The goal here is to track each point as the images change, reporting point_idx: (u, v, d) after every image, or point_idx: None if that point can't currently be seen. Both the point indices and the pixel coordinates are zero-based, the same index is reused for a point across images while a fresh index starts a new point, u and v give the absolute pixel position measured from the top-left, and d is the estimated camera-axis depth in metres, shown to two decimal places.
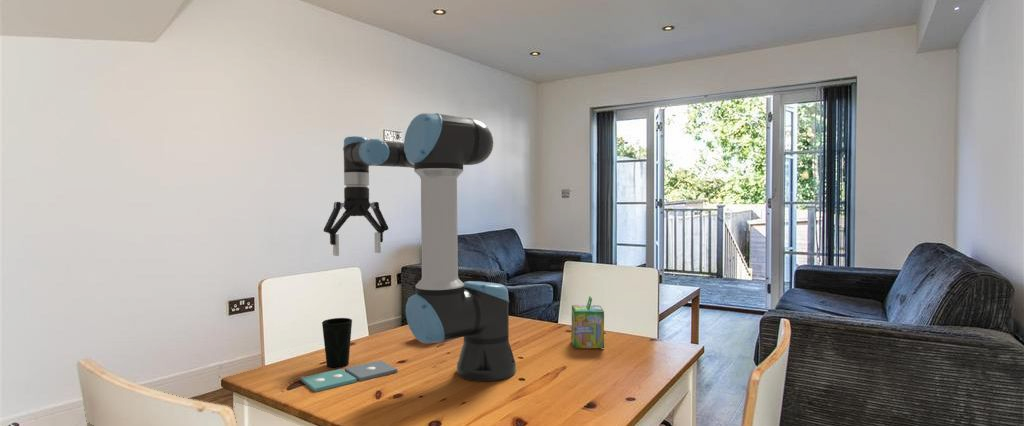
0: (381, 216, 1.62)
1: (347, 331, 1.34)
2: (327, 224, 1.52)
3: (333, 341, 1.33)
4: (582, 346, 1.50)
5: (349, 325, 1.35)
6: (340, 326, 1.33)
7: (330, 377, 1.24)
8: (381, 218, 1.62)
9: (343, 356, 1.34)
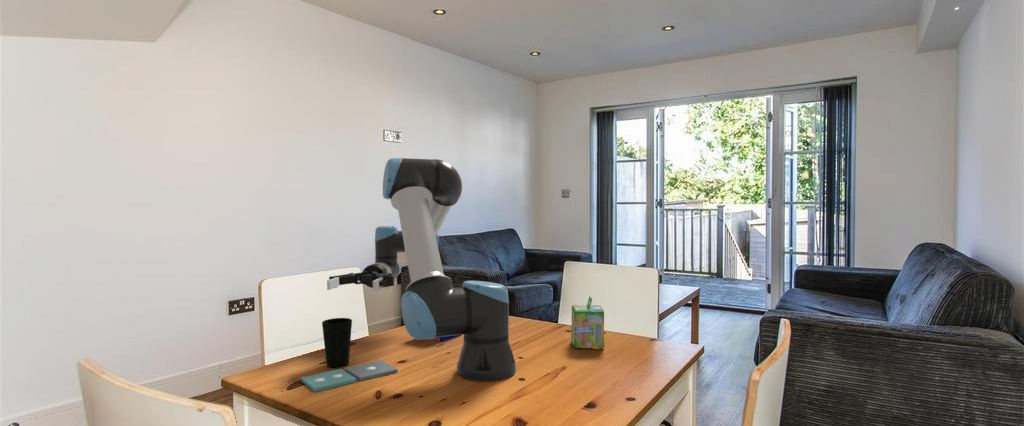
0: (389, 275, 1.56)
1: (347, 331, 1.34)
2: None
3: (333, 341, 1.33)
4: (582, 346, 1.50)
5: (349, 325, 1.35)
6: (340, 326, 1.33)
7: (330, 377, 1.24)
8: (389, 275, 1.56)
9: (343, 356, 1.34)
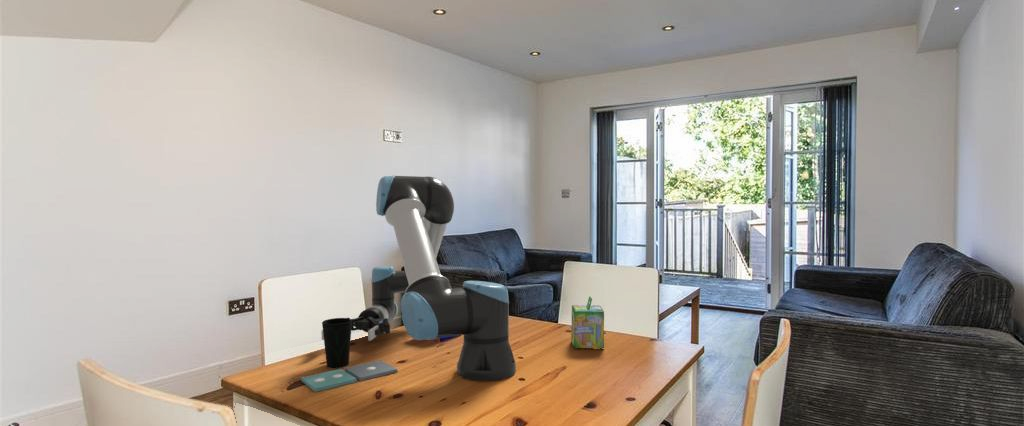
0: (385, 322, 1.53)
1: (347, 331, 1.34)
2: None
3: (333, 341, 1.33)
4: (582, 346, 1.50)
5: (349, 325, 1.35)
6: (340, 326, 1.33)
7: (330, 377, 1.24)
8: (385, 322, 1.53)
9: (343, 356, 1.34)
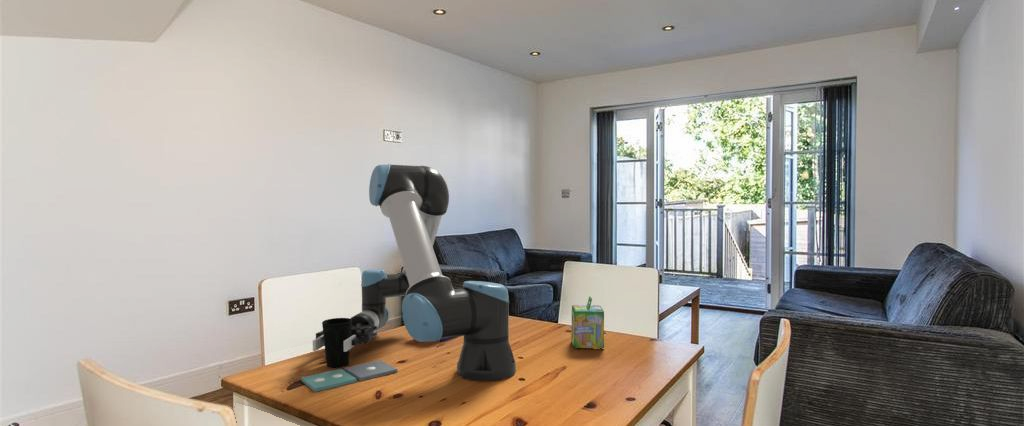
0: (369, 330, 1.43)
1: (347, 331, 1.34)
2: None
3: (333, 341, 1.33)
4: (582, 346, 1.50)
5: (349, 325, 1.35)
6: (340, 326, 1.33)
7: (330, 377, 1.24)
8: (368, 330, 1.42)
9: (343, 356, 1.34)
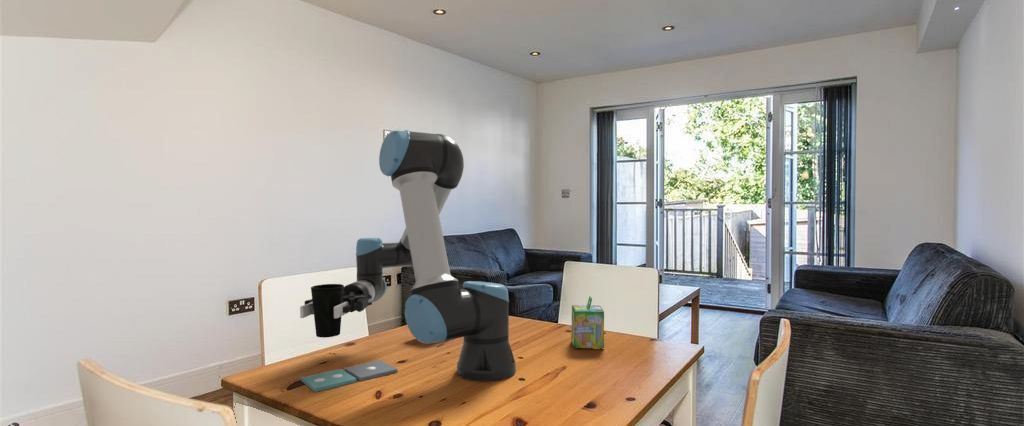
0: (362, 298, 1.31)
1: (338, 297, 1.23)
2: None
3: (323, 307, 1.21)
4: (582, 346, 1.50)
5: (340, 290, 1.24)
6: (330, 291, 1.21)
7: (330, 377, 1.24)
8: (362, 298, 1.30)
9: (334, 324, 1.23)
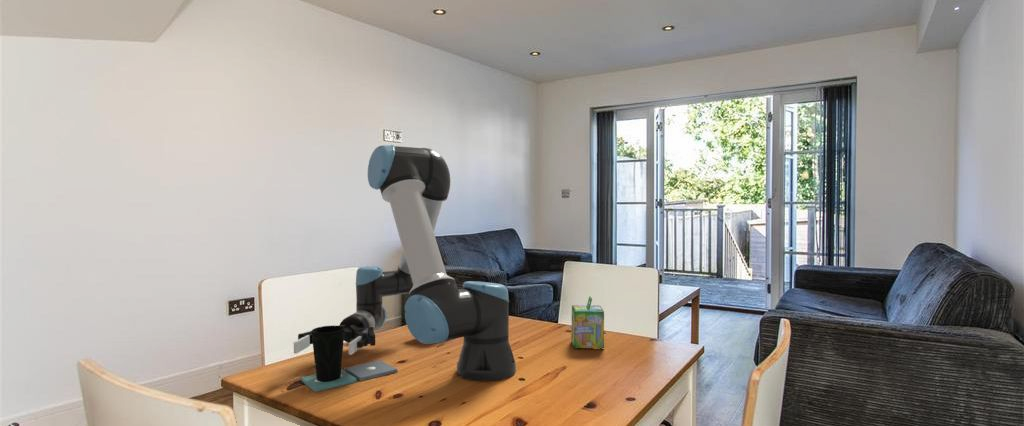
0: (370, 331, 1.31)
1: (339, 340, 1.22)
2: None
3: (323, 352, 1.20)
4: (582, 346, 1.50)
5: (341, 334, 1.23)
6: (331, 335, 1.20)
7: None
8: (370, 332, 1.31)
9: (334, 368, 1.22)
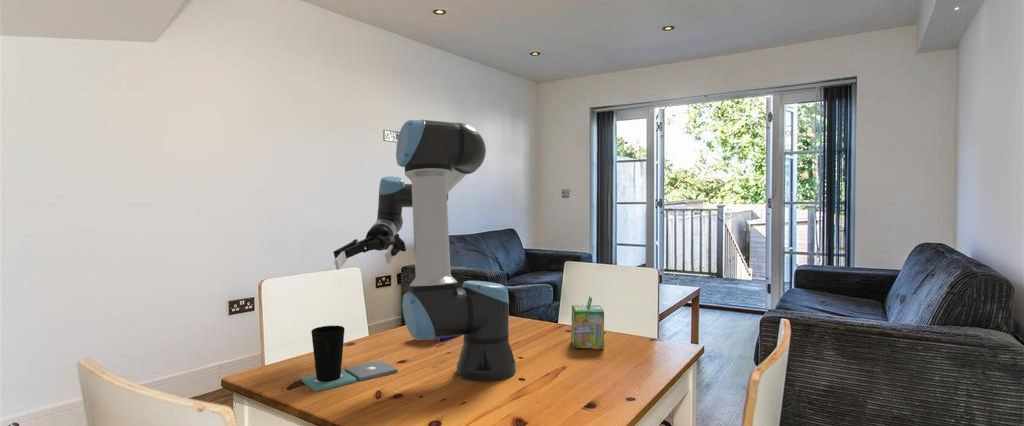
0: (398, 239, 1.44)
1: (338, 340, 1.22)
2: None
3: (323, 352, 1.20)
4: (582, 346, 1.50)
5: (341, 334, 1.23)
6: (331, 335, 1.20)
7: None
8: (398, 239, 1.43)
9: (334, 368, 1.22)
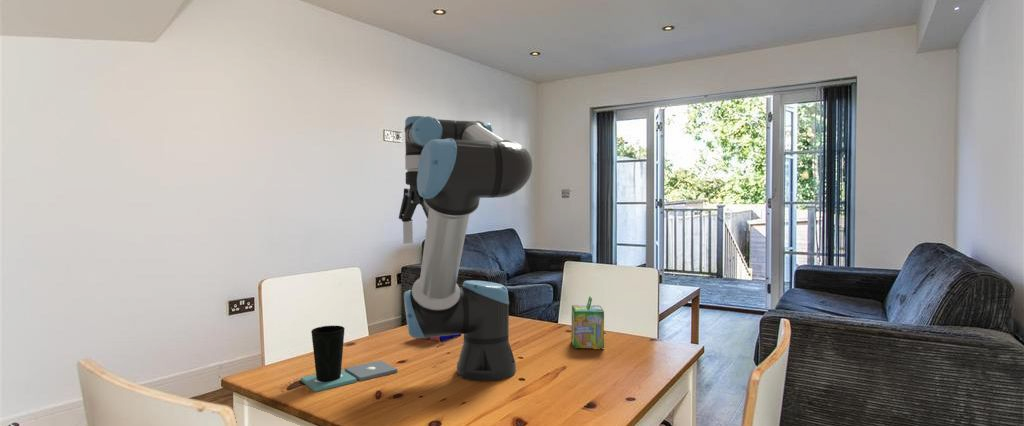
0: None
1: (338, 340, 1.22)
2: None
3: (323, 352, 1.20)
4: (582, 346, 1.50)
5: (341, 334, 1.23)
6: (331, 335, 1.20)
7: None
8: None
9: (334, 368, 1.22)
